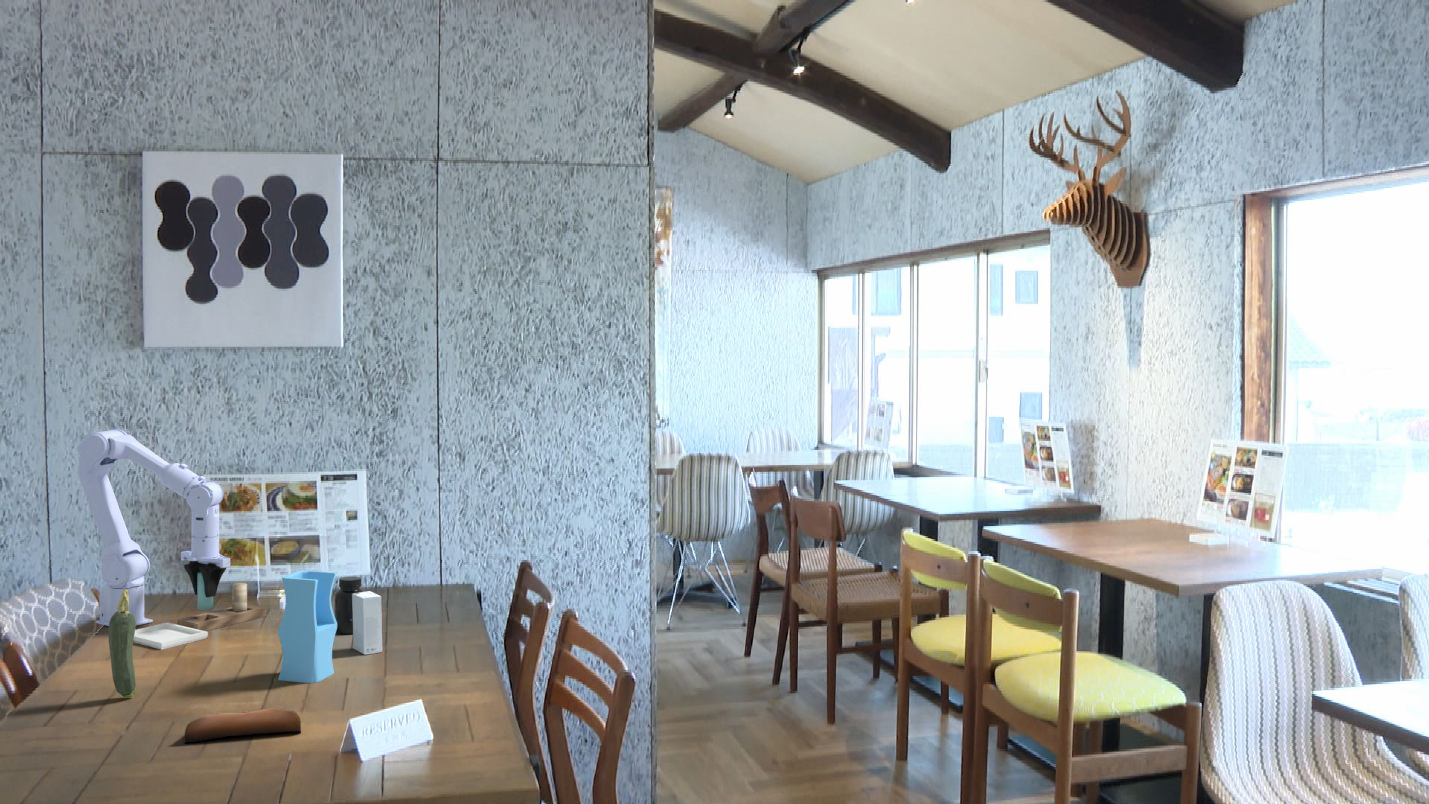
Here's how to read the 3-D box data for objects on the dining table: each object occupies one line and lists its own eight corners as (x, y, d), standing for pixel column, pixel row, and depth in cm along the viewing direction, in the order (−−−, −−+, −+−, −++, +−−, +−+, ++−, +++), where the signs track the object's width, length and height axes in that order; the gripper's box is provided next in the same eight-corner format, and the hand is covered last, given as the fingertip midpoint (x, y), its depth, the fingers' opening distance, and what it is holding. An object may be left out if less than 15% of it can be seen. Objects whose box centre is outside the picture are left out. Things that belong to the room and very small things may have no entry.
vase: (315, 683, 218) (315, 580, 216) (278, 680, 219) (278, 577, 218) (336, 672, 225) (337, 572, 224) (300, 668, 227) (301, 569, 226)
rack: (197, 632, 251) (197, 623, 251) (177, 628, 255) (177, 619, 254) (265, 616, 267) (265, 607, 267) (246, 612, 270) (246, 603, 270)
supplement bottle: (359, 635, 252) (359, 582, 252) (329, 634, 253) (329, 581, 252) (369, 627, 259) (369, 575, 259) (339, 626, 259) (340, 574, 259)
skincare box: (383, 652, 240) (383, 595, 239) (362, 655, 237) (363, 598, 236) (371, 645, 245) (372, 590, 244) (351, 649, 242) (351, 592, 241)
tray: (120, 639, 244) (120, 633, 244) (167, 628, 254) (167, 622, 254) (161, 649, 238) (161, 643, 237) (207, 638, 247) (207, 631, 247)
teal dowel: (194, 608, 256) (194, 573, 255) (206, 605, 259) (206, 570, 258) (203, 610, 254) (203, 574, 254) (216, 607, 257) (216, 572, 257)
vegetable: (124, 704, 203) (123, 593, 202) (103, 702, 204) (102, 592, 203) (141, 696, 208) (140, 588, 206) (120, 694, 208) (120, 586, 207)
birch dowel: (229, 618, 264) (229, 584, 263) (240, 615, 267) (240, 582, 266) (238, 620, 262) (238, 586, 262) (249, 617, 265) (250, 583, 265)
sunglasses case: (301, 717, 199) (301, 691, 195) (301, 749, 193) (301, 723, 190) (187, 727, 192) (185, 700, 189) (184, 761, 187) (182, 734, 183)
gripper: (168, 534, 256) (168, 594, 256) (210, 541, 248) (210, 603, 249) (196, 530, 262) (196, 588, 263) (238, 537, 255) (238, 597, 255)
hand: (205, 595), depth 256 cm, fingers closed on teal dowel, 3 cm apart
